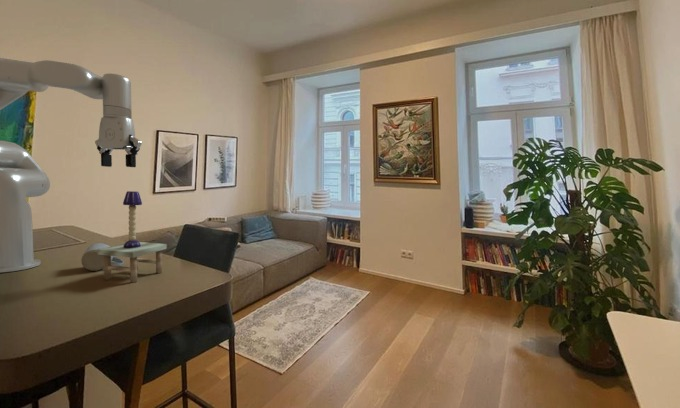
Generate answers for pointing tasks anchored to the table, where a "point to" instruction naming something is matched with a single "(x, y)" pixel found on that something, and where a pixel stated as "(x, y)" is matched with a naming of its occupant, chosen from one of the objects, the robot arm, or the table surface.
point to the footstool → (132, 258)
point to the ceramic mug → (97, 258)
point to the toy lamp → (132, 217)
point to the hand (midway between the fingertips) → (118, 166)
